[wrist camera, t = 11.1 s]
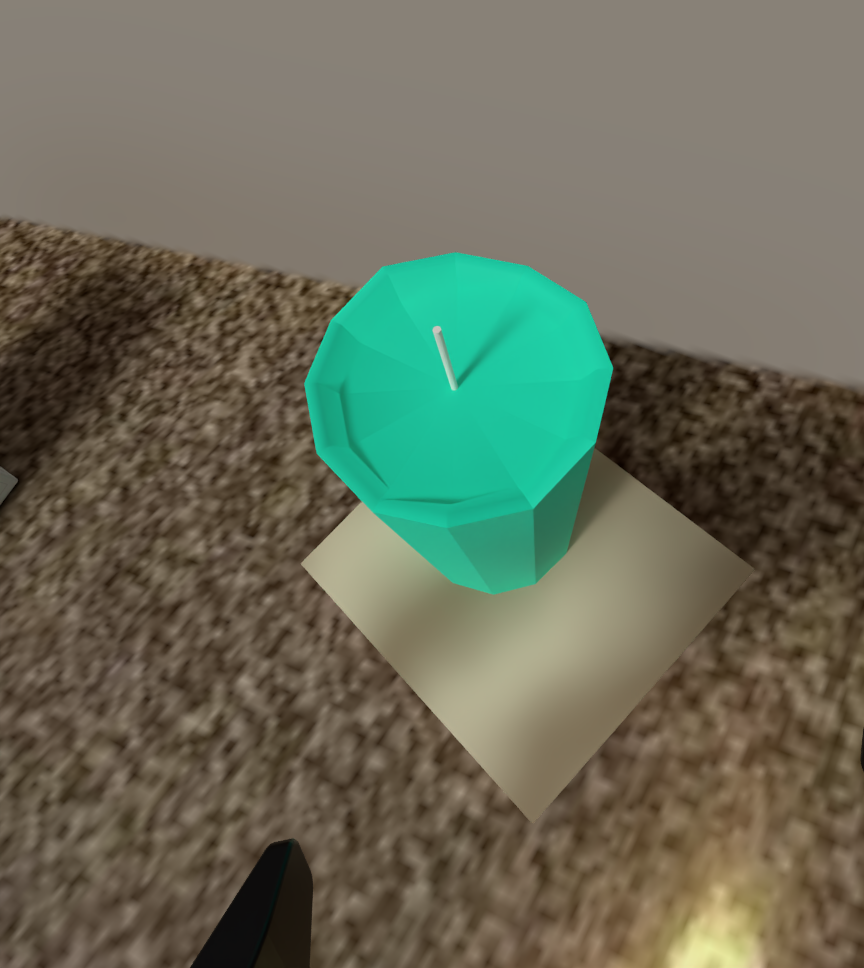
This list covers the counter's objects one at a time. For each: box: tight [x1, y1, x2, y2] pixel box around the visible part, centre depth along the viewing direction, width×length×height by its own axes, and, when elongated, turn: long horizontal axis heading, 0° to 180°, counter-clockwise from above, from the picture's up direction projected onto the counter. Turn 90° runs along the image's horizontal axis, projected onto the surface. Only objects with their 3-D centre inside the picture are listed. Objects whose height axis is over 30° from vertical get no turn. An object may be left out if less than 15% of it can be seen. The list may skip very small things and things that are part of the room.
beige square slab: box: [301, 448, 755, 824], centre depth 20 cm, size 12×11×2 cm
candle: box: [304, 252, 613, 595], centre depth 14 cm, size 6×6×12 cm
